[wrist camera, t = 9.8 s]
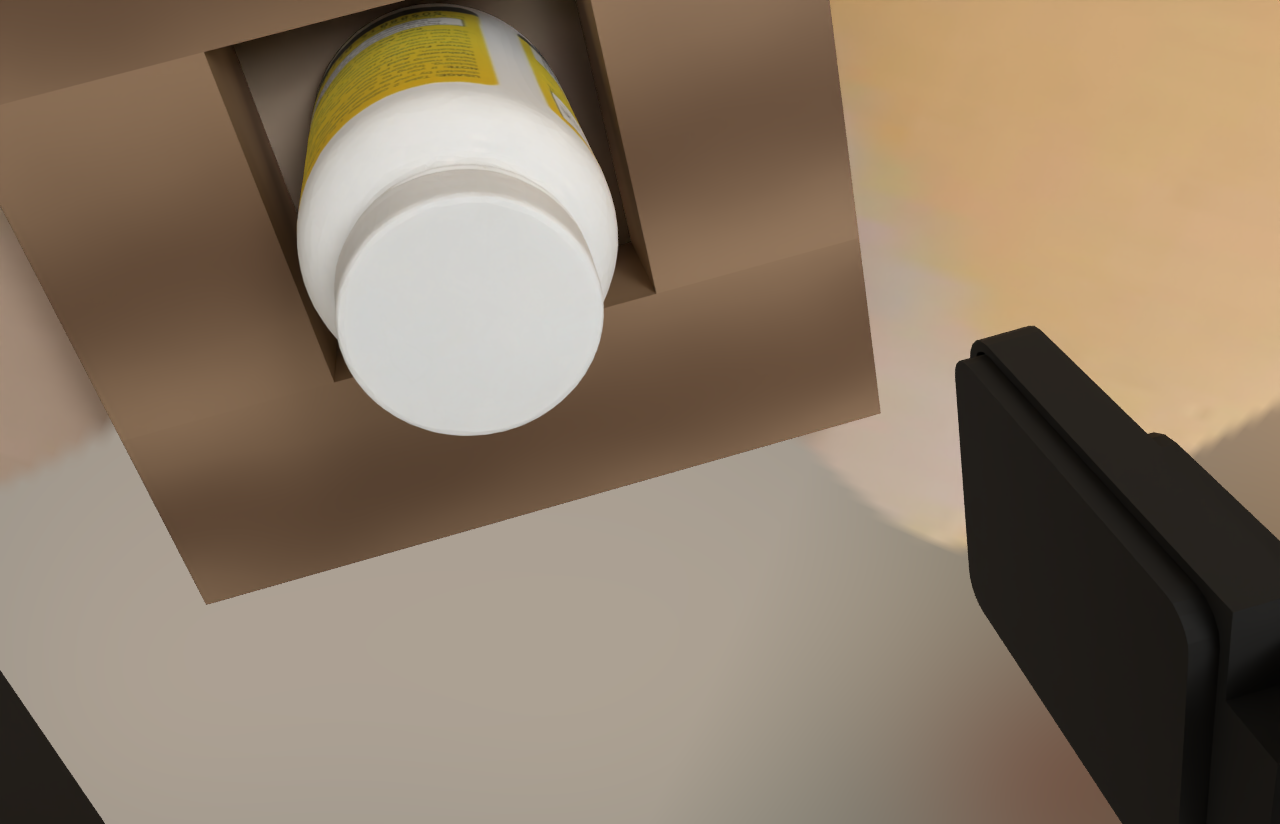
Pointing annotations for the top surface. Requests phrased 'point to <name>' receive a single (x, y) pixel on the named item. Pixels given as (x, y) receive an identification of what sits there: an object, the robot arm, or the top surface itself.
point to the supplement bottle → (454, 222)
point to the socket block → (310, 354)
